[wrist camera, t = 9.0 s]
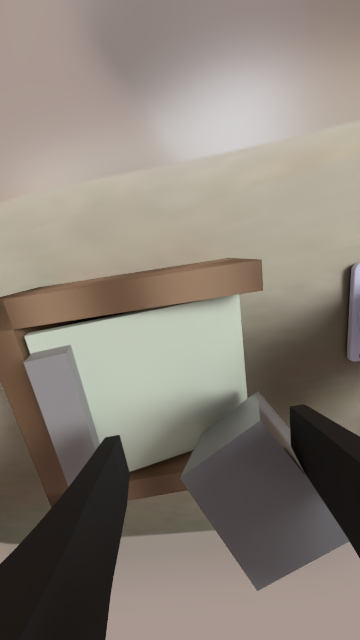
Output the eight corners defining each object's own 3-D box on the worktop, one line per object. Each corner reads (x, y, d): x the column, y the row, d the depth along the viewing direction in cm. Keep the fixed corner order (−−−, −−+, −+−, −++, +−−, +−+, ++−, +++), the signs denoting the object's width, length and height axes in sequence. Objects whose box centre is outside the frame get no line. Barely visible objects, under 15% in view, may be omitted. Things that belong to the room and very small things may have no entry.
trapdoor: (230, 290, 15) (249, 295, 13) (242, 421, 18) (259, 442, 15) (31, 330, 12) (14, 344, 10) (80, 474, 15) (74, 509, 13)
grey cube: (257, 391, 14) (260, 420, 10) (320, 464, 13) (356, 537, 9) (202, 433, 15) (180, 478, 11) (256, 505, 14) (257, 590, 9)
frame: (229, 257, 17) (261, 259, 11) (243, 414, 21) (272, 475, 15) (37, 287, 17) (-30, 304, 11) (85, 440, 21) (53, 512, 15)
